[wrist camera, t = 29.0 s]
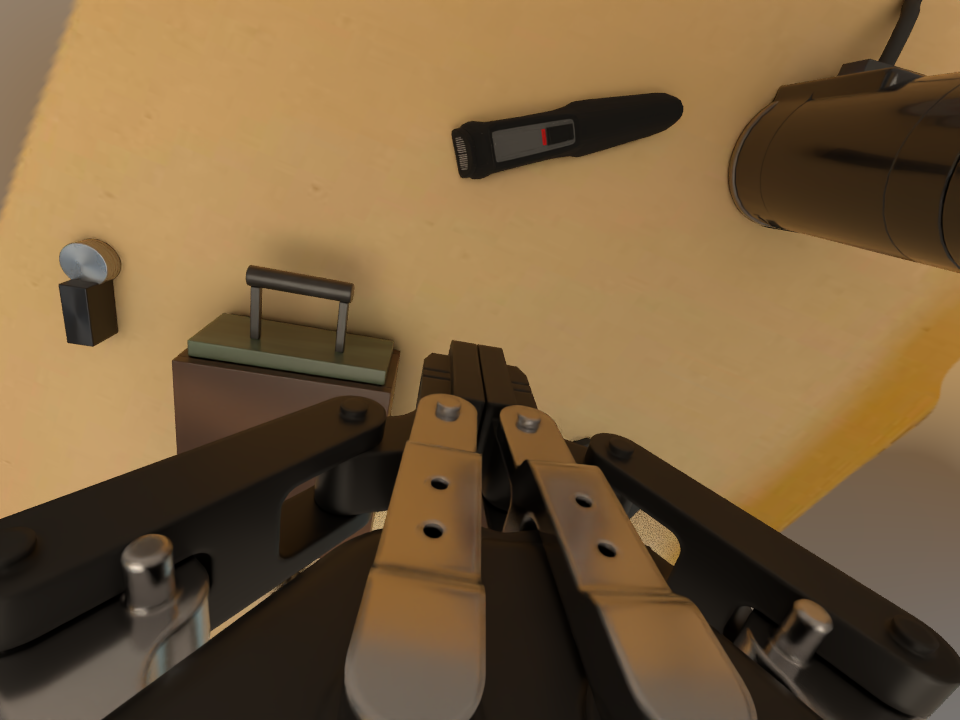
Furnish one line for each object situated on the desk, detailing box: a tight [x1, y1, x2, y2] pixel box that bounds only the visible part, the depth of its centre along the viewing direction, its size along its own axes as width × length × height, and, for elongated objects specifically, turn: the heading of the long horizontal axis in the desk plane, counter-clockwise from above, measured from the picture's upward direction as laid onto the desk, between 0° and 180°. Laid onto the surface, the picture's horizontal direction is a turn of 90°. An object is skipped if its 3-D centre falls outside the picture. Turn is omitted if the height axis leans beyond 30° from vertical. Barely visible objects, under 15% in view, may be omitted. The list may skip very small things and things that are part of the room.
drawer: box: [188, 265, 394, 386], centre depth 38 cm, size 21×13×6 cm, turn 168°
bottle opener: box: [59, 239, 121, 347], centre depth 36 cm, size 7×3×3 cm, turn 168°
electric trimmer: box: [452, 93, 683, 179], centre depth 33 cm, size 4×16×3 cm, turn 100°
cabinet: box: [172, 348, 400, 558], centre depth 39 cm, size 17×15×8 cm
